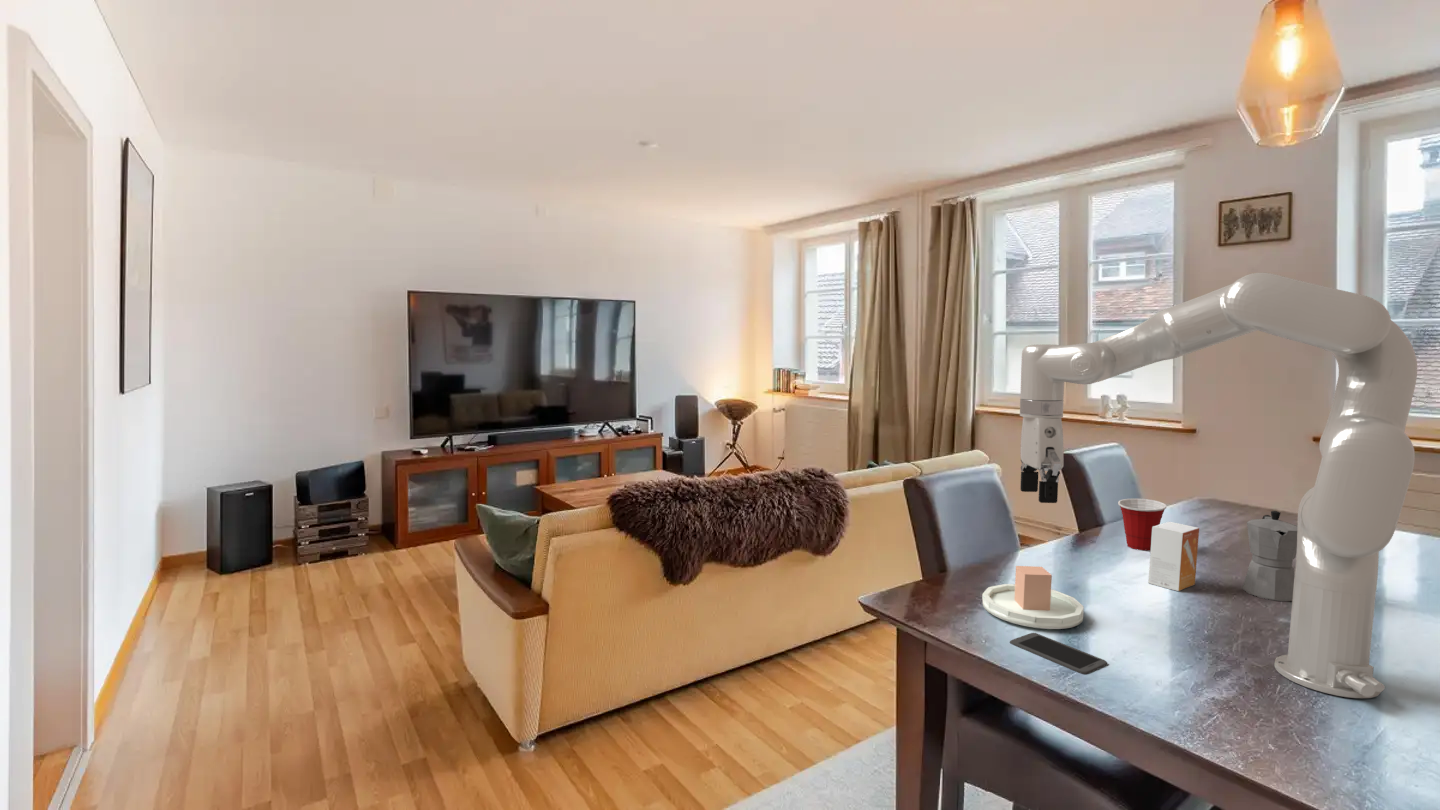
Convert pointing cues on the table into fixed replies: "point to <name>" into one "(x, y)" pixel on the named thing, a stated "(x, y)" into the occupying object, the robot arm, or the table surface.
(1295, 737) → the table surface
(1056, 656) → the cell phone
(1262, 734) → the table surface
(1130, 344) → the robot arm
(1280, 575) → the coffeepot
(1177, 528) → the small box
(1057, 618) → the dish
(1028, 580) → the block
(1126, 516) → the plastic cup
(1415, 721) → the table surface
